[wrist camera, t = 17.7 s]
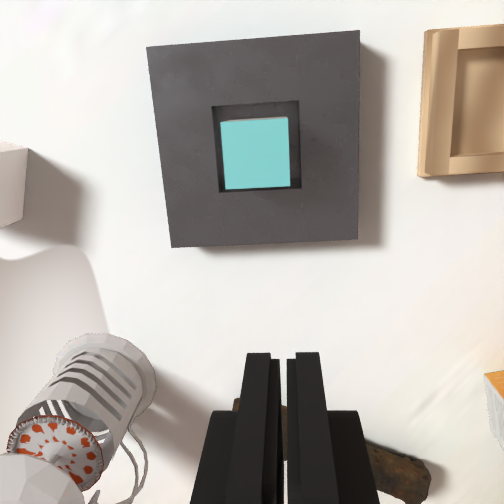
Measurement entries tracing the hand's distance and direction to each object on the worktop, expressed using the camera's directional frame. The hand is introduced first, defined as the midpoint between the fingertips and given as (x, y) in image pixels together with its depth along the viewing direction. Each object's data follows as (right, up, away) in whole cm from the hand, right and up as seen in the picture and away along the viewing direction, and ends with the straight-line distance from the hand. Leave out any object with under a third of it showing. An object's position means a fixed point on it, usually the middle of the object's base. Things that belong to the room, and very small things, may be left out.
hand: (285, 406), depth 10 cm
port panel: (0, +12, +23) cm, 26 cm away
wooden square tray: (+17, +14, +21) cm, 31 cm away
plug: (0, +12, +23) cm, 26 cm away
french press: (-14, -9, +31) cm, 35 cm away
